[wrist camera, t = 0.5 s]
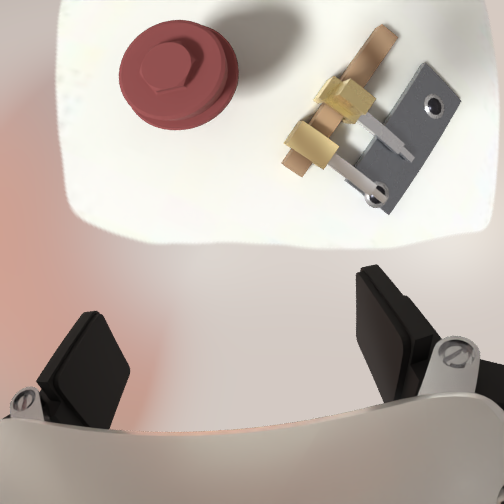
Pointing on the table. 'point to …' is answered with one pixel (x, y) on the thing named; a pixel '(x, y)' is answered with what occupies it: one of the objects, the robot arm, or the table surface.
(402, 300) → the robot arm
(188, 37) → the mechanical component
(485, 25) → the table surface
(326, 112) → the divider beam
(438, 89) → the hole plate
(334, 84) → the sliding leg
